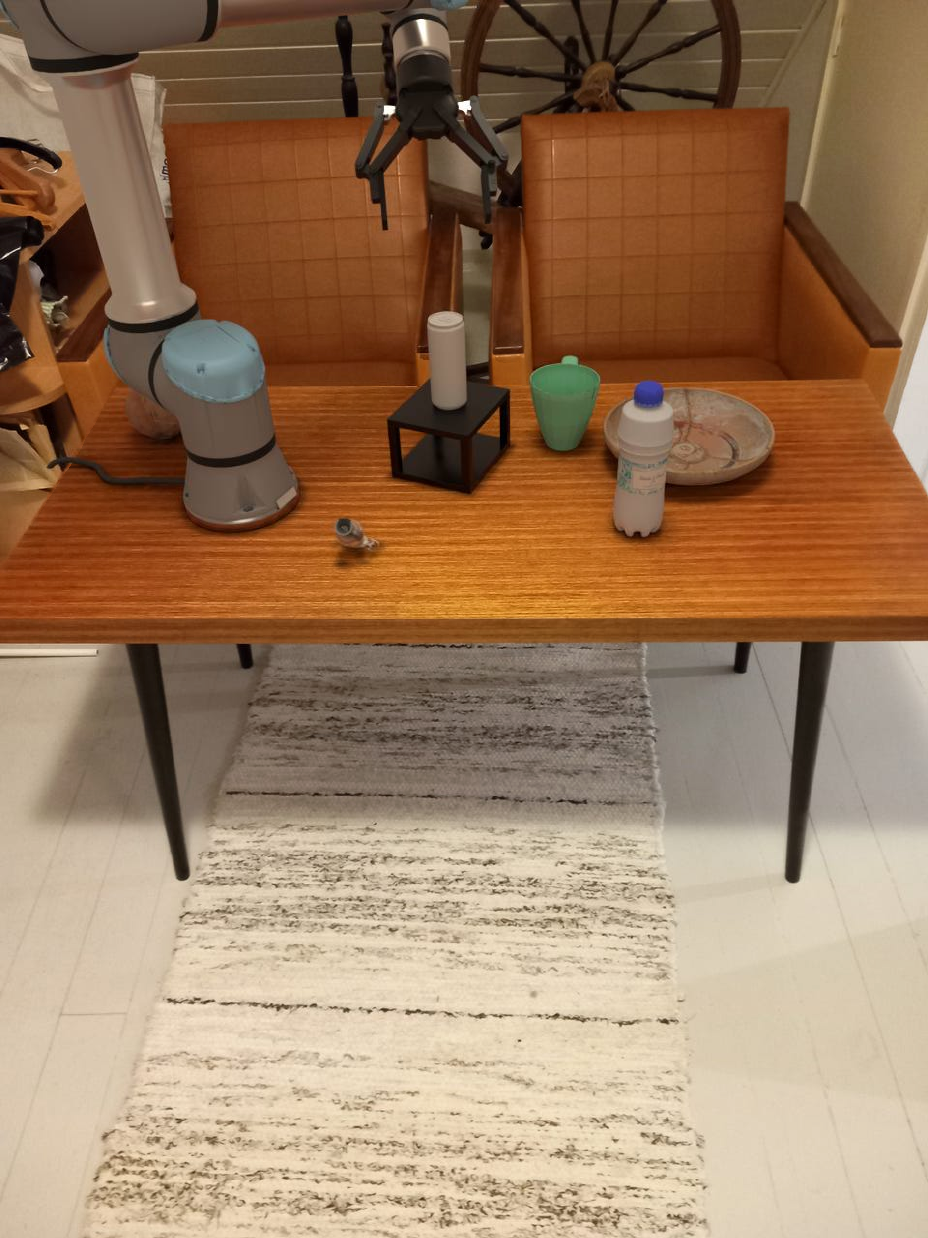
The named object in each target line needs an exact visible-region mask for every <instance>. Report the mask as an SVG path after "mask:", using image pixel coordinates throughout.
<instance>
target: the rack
mask: <svg viewBox="0 0 928 1238" xmlns="http://www.w3.org/2000/svg"><path fill="white" fill-rule="evenodd" d="M466 392H467V401H466V402H465V404H464V405H463V406H462V407H460V408H458V409H455V410H443V409H440V408H437V407H436V406H435V405H434V404H433V402H432V395H431V379H430V378H428V379H427V380H426V381H425V382H424V383H423V384H422V385H420V387H419V388H418V389H416V390H415V392H414V393H412V395H410V396H409V398H407V399H406V400H405V401H404V402H403V403H402V404H401V405H400V406H398V407H397V409H396V410H395V411H394V412H392V414H390V416H388V417H387V418H386V425H387V426H386V427H387V436H388V447H389V457H390V459H389V460H390V469H391V477H392V478H396V479H400V480H405V481H409V482H412V483H413V482H414V483H418V484H422V485H427V486H430V487H431V486H432V487H437V488H441V489H444V490H448V491H449V490H450V491H453V492H458V493H462V494H468V495H471V494H472V492H473V491H474V490H475V489H476V488H477V487H478V485H479V484H480V483H481V481H483V479H484V478H485V477H486V476H487V475H488V473H489V472H490V471H491V470H492V468H494V466H495V465H496V464H497V462H498V461H499V460H500V459H501V458H502V456H503V455H504V454H505V453H506V451H508V449H509V448H510V447H511V389H510V388H507V387H501V386H496V385H491V384H485V383H479V382H473V381H468V380H466ZM497 411H498V412H499V413H498V415H499V417H498V418H499V419H498V420H499V421H498V423H499V425H498V427H499V436H494V435H489V434H483V433H478V432H479V431H480V430H481V428H482V427H483V426H484V425H485V424H486V423H487V421H489V420H490V418H491V417H492V416H493V415H494V414H495V413H496V412H497ZM400 429H402V430H408V431H411V432H417V433H423V434H426V435H424V436H423V438H422V439H421V440H420V441H419V442H418V443H417V444H416V445H415V446H414V447H413V448H412V449H411V450H410V451H409V453H407V454H406V455H405V456H404V458H403V454H402V453H403V452H402V441H401V440H402V439H401V431H400Z"/></svg>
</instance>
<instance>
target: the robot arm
mask: <svg viewBox="0 0 928 1238" xmlns="http://www.w3.org/2000/svg"><path fill="white" fill-rule="evenodd" d="M469 2H470V0H0V10H1V12H2V13H3V15H4V16H5V17H6V18H7V19H8V21H9V22H10V23H11V25H13V26H14V27H15V29H17V30H19V31H20V35H21V38H22V42H23V45H24V48H25V51H26V55H27V58H28V61H29V65H30V68H31V71H32V73H33V74H34V75H36V76H37V77H39V78H40V79H42V80H43V81H45V82H46V83H47V84H48V85H49V86H50V87H51V89H52V91H53V95H54V99H55V102H56V105H57V110H58V113H59V115H60V119H61V123H62V126H63V129H64V133H65V136H66V140H67V143H68V146H69V151H70V153H71V157H72V160H73V163H74V167H75V171H76V174H77V177H78V181H79V184H80V187H81V191H82V194H83V197H84V202H85V204H86V208H87V211H88V215H89V219H90V222H91V225H92V228H93V232H94V235H95V238H96V242H97V246H98V249H99V252H100V256H101V259H102V260H101V261H102V263H103V267H104V269H105V273H106V276H107V280H108V283H109V287H110V290H111V295H110V297H109V299H108V300H107V302H106V304H105V305H104V313H105V316H106V320H107V326H106V327H105V328H104V332H103V349H104V350H103V351H104V354H105V357H106V360H107V362H108V364H109V366H110V368H111V369H112V370H113V372H114V373H115V374H116V375H117V376H118V378H119V379H120V380H121V381H122V382H124V384H125V385H127V386H128V388H129V389H131V388H132V389H133V390H134V391H136V392H139V393H141V394H142V395H144V396H145V397H147V398H148V399H150V400H151V401H153V402H155V403H156V404H158V405H159V406H161V407H162V408H164V409H165V410H167V411H168V412H170V413H171V414H173V415H174V416H176V418H177V420H178V422H179V425H180V429H181V432H180V433H181V437H182V441H183V445H184V449H185V453H186V458H187V460H186V468H185V476H184V478H180V477H179V478H177V477H151V476H150V477H148V476H147V477H143V476H142V477H123V478H121V477H115V476H110V475H107V473H106V472H105V471H104V468H103V467H102V466H101V465H100V464H99V463H97V462H95V461H92V460H89V459H84V458H79V457H75V456H74V457H73V456H63V457H57V458H55V459H52V460H51V461H50V462H49V463H48V464H47V466H46V469H48V470H52V469H54V468H55V467H56V466H58V465H60V464H76V465H81V466H85V467H88V468H93V469H94V470H95V471H96V472H97V474H98V475H99V477H100V478H101V479H102V480H103V481H105V482H107V483H109V484H115V485H136V484H158V485H162V484H163V485H182V486H183V485H184V486H183V494H182V500H183V503H184V508H185V512H186V514H187V517H188V518H189V519H190V520H191V521H192V522H193V523H195V524H196V525H197V526H200V527H202V528H204V529H208V530H211V531H216V532H217V531H218V532H229V533H230V532H244V531H250V530H255V529H259V528H262V527H265V526H268V525H270V524H273V523H274V522H277V521H278V520H280V519H282V518H283V517H285V516H287V514H289V513H290V512H291V511H292V510H293V509H294V508H295V507H296V505H297V503H298V500H299V498H300V489H299V484H298V478H297V476H296V474H295V472H294V471H293V469H292V468H291V467H290V466H289V465H288V462H287V460H286V458H285V455H284V453H283V452H282V449H281V448H280V445H279V444H278V442H277V437H276V432H275V425H274V420H273V413H272V407H271V402H270V396H269V390H268V385H267V378H266V365H265V362H264V359H263V356H262V353H261V350H260V346H259V343H258V341H257V340H256V338H255V336H254V335H253V334H252V333H251V332H250V331H249V330H248V329H246V328H245V327H243V326H241V325H239V324H238V323H234V322H231V321H228V320H222V321H217V320H216V319H203V318H202V315H201V310H200V306H199V302H198V298H197V294H196V292H195V290H193V289H192V288H191V287H189V286H187V285H186V284H184V283H182V281H181V278H180V275H179V270H178V266H177V262H176V258H175V255H174V249H173V245H172V241H171V237H170V234H169V229H168V225H167V221H166V217H165V211H164V209H163V205H162V202H161V196H160V192H159V188H158V184H157V180H156V176H155V172H154V167H153V163H152V158H151V155H150V150H149V146H148V142H147V138H146V134H145V129H144V127H143V122H142V119H141V114H140V109H139V106H138V101H137V97H136V93H135V89H134V85H133V81H132V77H131V76H132V73H133V72H134V70H135V68H136V66H137V65H138V63H139V62H140V59H141V57H140V53H142V52H147V51H153V50H157V49H159V50H160V49H162V48H169V47H175V46H181V45H188V44H193V43H195V44H196V43H203V42H208V41H211V40H212V39H213V38H215V36H216V34H217V32H218V31H219V29H226V28H227V29H228V28H236V27H237V28H238V27H246V26H247V27H248V26H257V25H265V24H275V23H285V22H294V21H305V20H314V19H315V20H316V19H323V18H333V17H342V16H352V15H362V14H371V13H373V14H374V13H380V14H381V15H382V16H383V17H386V18H387V19H389V21H390V25H391V36H392V45H393V46H392V48H393V61H394V68H395V84H396V94H397V96H396V97H397V102H396V104H395V105H385V103H384V102H383V101H382V100H377V101H376V102H375V103H374V117H373V119H372V122H371V124H370V126H369V129H368V131H367V133H366V136H365V138H364V140H363V143H362V144H361V147H360V150H359V152H358V153H357V157H356V159H355V162H354V164H353V165H354V173H355V177H356V179H359V180H362V179H366V180H367V181H368V182H369V193H370V201H371V203H372V205H379V206H380V219H381V228H382V229H381V231H382V232H384V231H389V224H388V211H387V209H388V208H387V199H386V186H385V185H386V184H385V176H384V175H385V172H386V171H387V170H388V168H389V167H390V166H391V165H392V164H393V162H394V161H395V159H396V158H397V156H399V154H400V153H401V151H403V149H404V148H405V147H407V145H409V143H410V142H411V141H412V139H416V140H417V141H418V142H420V141H421V142H422V141H426V140H434V141H435V140H436V141H437V140H441V138H443V137H445V138H446V139H447V140H448V141H449V142H450V143H451V144H455V145H456V146H457V147H458V148H459V149H460V150H461V151H462V152H463V153H464V154H465V155H466V156H467V157H468V158H469V159H470V160H471V161H472V162H473V163H474V164H476V166H477V167H478V168H479V169H480V186H481V197H482V208H483V219H484V225H491V222H492V215H493V212H492V211H493V210H492V201H491V200H492V199H491V198H494V197H495V198H496V197H497V195H498V176H497V172H499V171H506V170H507V169H508V166H509V165H508V164H509V158H510V156H509V153H508V151H507V150H506V148H505V147H504V145H503V143H502V142H501V140H500V139H499V137H498V135H497V133H496V132H495V131H494V129H493V127H492V126H491V124H490V123H489V122H488V120H487V118H486V116H485V114H483V111H482V109H481V106H480V101H479V100H480V99H479V97H478V96H476V95H471V96H470V97H469V100H465V101H459V102H458V101H457V99H456V97H455V90H454V79H453V70H452V69H453V68H452V55H451V46H450V36H449V28H448V20H447V11H457V10H460V9H462V8H463V7H464V6H466V5H467V4H468V3H469ZM459 115H463V116H464V119H466V120H467V121H470V123H471V126H472V128H473V129H474V131H475V133H476V134H477V136H478V137H479V139H480V141H481V142H482V144H483V145H484V147H485V148H486V149H485V148H484V147H483V145H481V144H480V143H479V142H478V141H477V140H476V139H475V138H474V137H473V136H472V134H470V133H469V132H468V131H467V130H465V128H464V127H462V125H461V123H460V122H459V120H458V119H457V118H458V117H459ZM393 118H395V119H396V121H397V122H398V123H399V124H398V126H397V129H396V131H395V132H394V133H393V135H392V136H391V137H390V138H389V139H388V141H387V142H386V144H385V145H384V146H383V147H382V149H381V150H380V151H379V153H378V154H377V155H376V157H375V158H374V159H373V157H374V155H375V153H376V150H377V148H378V146H379V144H380V141H381V140H382V137H383V135H384V132H385V127H386V126H389V124H390V123H391V121H392V119H393Z"/></svg>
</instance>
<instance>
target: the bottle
mask: <svg viewBox="0 0 928 1238" xmlns="http://www.w3.org/2000/svg"><path fill="white" fill-rule="evenodd" d="M663 388H664V386H663V385H662V384H661V383H660V382H657V381H654V380H643V381H640V382H639V383H637V384H636V386H635V388H634V391H633V395H634V400H631V401H629V402H628V403H626V404H625V405H624V407H623V409H622V414H621V418H620V423H619V427H618V430H617V433H618V439H617V443H618V446H619V448H620V449H619V460H618V459H617V460H618V462H617V473H616V474H617V476H616V487H615V492H614V498H613V507H612V517H613V523H614V526H615V528H616V529H617V530H618V531H619V532H623V531H624V532H625V535H626V536H628V537H633V536H634V533H636V532H640V536H641V537H642V538H645V537H648V536H649V534H650V533H656V532H657V531H658V530H659V529H660V527H661V525H662V522H663V518H664V511H665V510H664V509H665V489H666V483H665V481H666V472H667V464H668V455H669V450H670V449H671V447H672V445H673V441H672V440H673V438H674V416H673V409H672V407H671V406H670V405H669V404H668V403H666V402H664V401H663V396H664V390H663Z"/></svg>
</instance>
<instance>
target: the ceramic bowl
mask: <svg viewBox="0 0 928 1238" xmlns="http://www.w3.org/2000/svg"><path fill="white" fill-rule="evenodd" d="M663 390H664V396H663V401H664V402H666V403H668V404H669V405H670V406H671V407H672V409H673V416H674V438H673V440H672V441H673V445H672V447H671V449H670V450H669V455H668V464H667V472H666V481H665V484H670V485H671V484H672V485H677V486H708V485H714V484H720V483H721V484H722V483H725V482H729V481H732V480H735V479H737V478H740V477H743V476H744V475H745V476H746V475H747V474H748V473H750V472H752V471H754V470H755V469H757V468H758V467H760V466H761V465H762V464H763V463H764V462H765V461H766V460H767V459H768V457H769V455H770V454H771V452H772V450H773V447H774V446H775V440H776V431H775V427H774V424H773V422H772V421H771V420H770V419H771V418H769V416H767V415H766V413H765V412H763V411H762V410H761V409H759V407H757V406H755V405H754V404H753V403H751V402H749V401H747V400H745V399H743V398H741V397H738V396H736V395H733V394H731V393H727V392H724V391H720V390H715V389H710V388H705V387H695V386H694V387H690V386H689V387H687V386H679V387H678V386H676V387H675V386H674V387H663ZM631 400H634V394H632V395H630V396H628V397H626V398H624V399H622V400H621V401H619V402H617V403H616V404H615V405H613V406H612V407H611V409H610V410H609V411H608V412H607V414H606V415H605V417H604V420H603V424H602V434H603V435H602V436H603V439H604V442H605V444H606V446H607V448H608V449H609V451H610V452H611V453H612V455H613V456H614V457H615V458H616V459H617V460H619V449H620V448H619V446H618V443H617V439H618V433H617V430H618V427H619V423H620V418H621V414H622V409H623V407H624V405H625V404H626V403H628V402H629V401H631Z"/></svg>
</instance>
